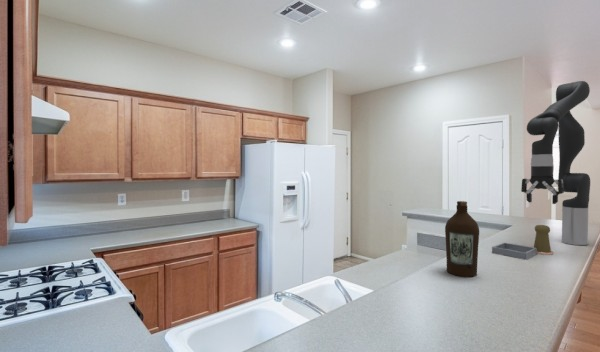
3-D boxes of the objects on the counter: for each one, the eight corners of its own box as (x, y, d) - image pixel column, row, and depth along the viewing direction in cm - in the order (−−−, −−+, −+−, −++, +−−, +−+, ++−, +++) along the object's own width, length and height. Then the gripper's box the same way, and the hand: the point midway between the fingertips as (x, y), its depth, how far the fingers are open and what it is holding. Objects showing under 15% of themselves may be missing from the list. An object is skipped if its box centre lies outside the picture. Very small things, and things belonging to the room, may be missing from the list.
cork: (545, 249, 136) (545, 223, 136) (554, 252, 130) (554, 226, 130) (530, 248, 137) (530, 223, 137) (538, 252, 131) (539, 226, 131)
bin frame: (504, 248, 141) (504, 242, 141) (537, 254, 131) (537, 248, 131) (492, 252, 133) (492, 247, 133) (526, 259, 123) (526, 253, 123)
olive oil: (446, 266, 117) (446, 199, 116) (478, 270, 111) (479, 200, 111) (443, 274, 107) (443, 202, 107) (479, 280, 102) (479, 204, 101)
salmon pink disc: (535, 249, 138) (535, 247, 138) (555, 252, 132) (555, 251, 132) (530, 252, 134) (530, 250, 134) (550, 255, 128) (550, 254, 128)
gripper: (565, 164, 130) (565, 203, 130) (525, 165, 141) (525, 201, 142) (560, 165, 125) (560, 205, 126) (519, 165, 136) (519, 202, 137)
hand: (541, 203), depth 134 cm, fingers open, 8 cm apart
